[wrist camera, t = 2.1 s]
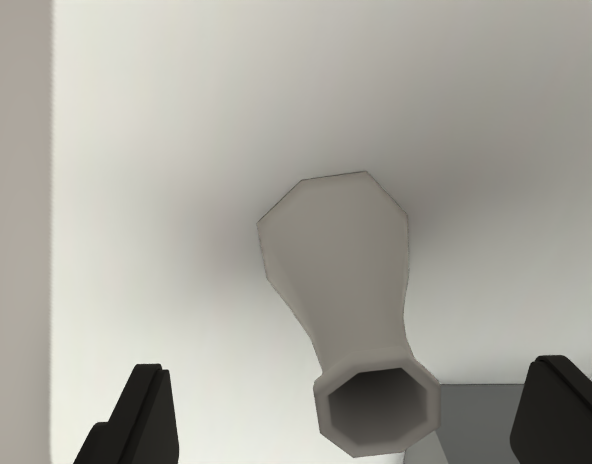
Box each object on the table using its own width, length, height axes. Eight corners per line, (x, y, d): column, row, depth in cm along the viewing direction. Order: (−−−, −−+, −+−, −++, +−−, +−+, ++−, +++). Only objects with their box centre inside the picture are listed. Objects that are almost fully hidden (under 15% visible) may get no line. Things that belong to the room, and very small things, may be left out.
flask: (430, 274, 20) (558, 456, 10) (299, 330, 21) (309, 539, 12) (376, 142, 17) (480, 227, 8) (230, 213, 18) (172, 360, 9)
